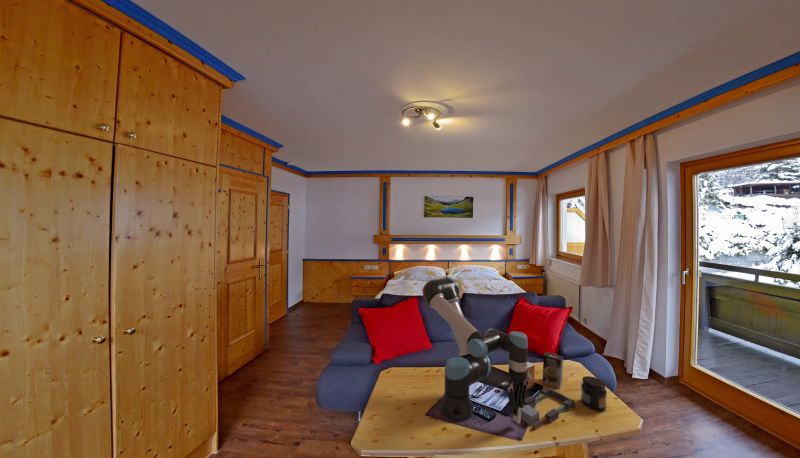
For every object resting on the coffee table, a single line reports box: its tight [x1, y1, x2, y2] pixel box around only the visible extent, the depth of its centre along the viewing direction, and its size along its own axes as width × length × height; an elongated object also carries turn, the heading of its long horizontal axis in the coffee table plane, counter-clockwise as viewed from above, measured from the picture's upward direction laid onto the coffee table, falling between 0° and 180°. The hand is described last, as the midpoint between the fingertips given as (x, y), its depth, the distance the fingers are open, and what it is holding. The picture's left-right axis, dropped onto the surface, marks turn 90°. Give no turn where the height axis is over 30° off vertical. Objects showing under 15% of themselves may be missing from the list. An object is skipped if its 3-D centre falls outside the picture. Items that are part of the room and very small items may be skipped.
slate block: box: [521, 405, 540, 427], centre depth 127 cm, size 6×6×4 cm
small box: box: [526, 360, 536, 388], centre depth 153 cm, size 8×6×13 cm
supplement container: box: [580, 375, 608, 411], centre depth 139 cm, size 10×10×12 cm
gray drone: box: [511, 386, 576, 431], centre depth 134 cm, size 14×32×3 cm, turn 123°
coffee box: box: [542, 351, 564, 390], centre depth 157 cm, size 9×6×16 cm
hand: (516, 421), depth 123 cm, fingers closed
